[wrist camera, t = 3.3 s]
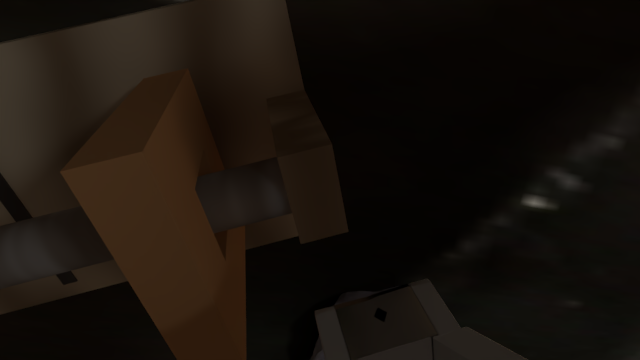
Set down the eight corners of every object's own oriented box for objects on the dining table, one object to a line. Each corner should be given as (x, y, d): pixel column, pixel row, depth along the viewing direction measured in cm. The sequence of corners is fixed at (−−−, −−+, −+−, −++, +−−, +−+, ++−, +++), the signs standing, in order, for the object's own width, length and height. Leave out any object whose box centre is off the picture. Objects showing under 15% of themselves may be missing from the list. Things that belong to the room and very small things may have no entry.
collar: (187, 68, 17) (142, 151, 9) (245, 225, 22) (246, 368, 14) (143, 78, 17) (59, 171, 9) (210, 233, 21) (192, 383, 14)
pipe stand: (278, -20, 18) (302, -11, 11) (328, 213, 25) (364, 312, 18) (-203, 87, 17) (-543, 178, 10) (-8, 301, 24) (-117, 447, 17)
